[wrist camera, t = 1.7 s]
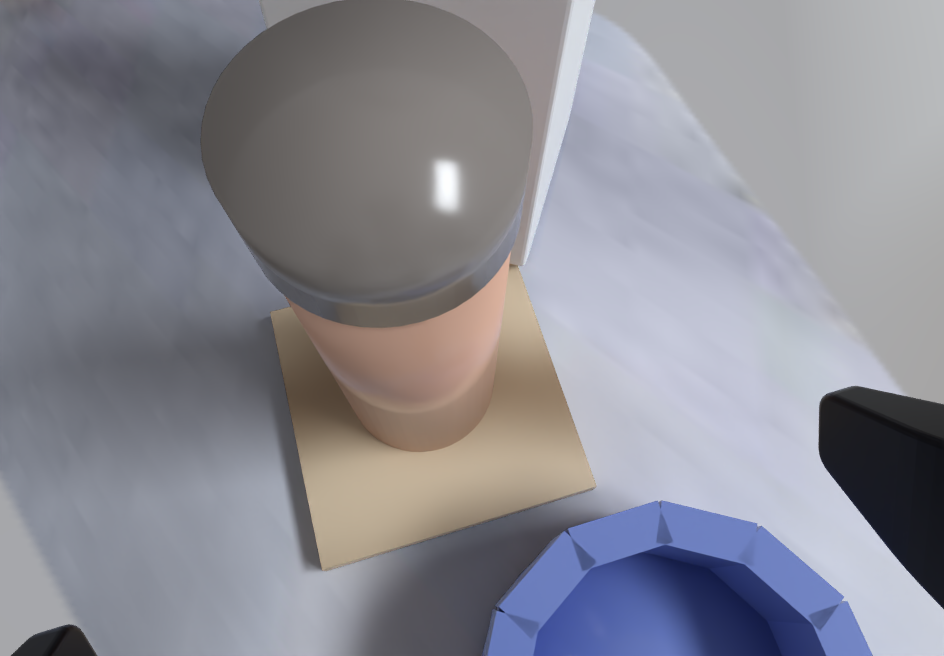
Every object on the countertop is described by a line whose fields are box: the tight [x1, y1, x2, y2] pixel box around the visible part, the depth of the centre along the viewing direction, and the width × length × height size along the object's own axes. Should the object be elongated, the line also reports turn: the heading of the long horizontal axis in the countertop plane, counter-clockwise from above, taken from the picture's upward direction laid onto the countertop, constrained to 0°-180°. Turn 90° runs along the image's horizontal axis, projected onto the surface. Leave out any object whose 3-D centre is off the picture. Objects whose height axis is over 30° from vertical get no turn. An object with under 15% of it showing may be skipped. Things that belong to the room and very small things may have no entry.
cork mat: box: [270, 263, 597, 571], centre depth 21 cm, size 8×8×1 cm
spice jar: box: [201, 0, 533, 452], centre depth 15 cm, size 5×5×12 cm
